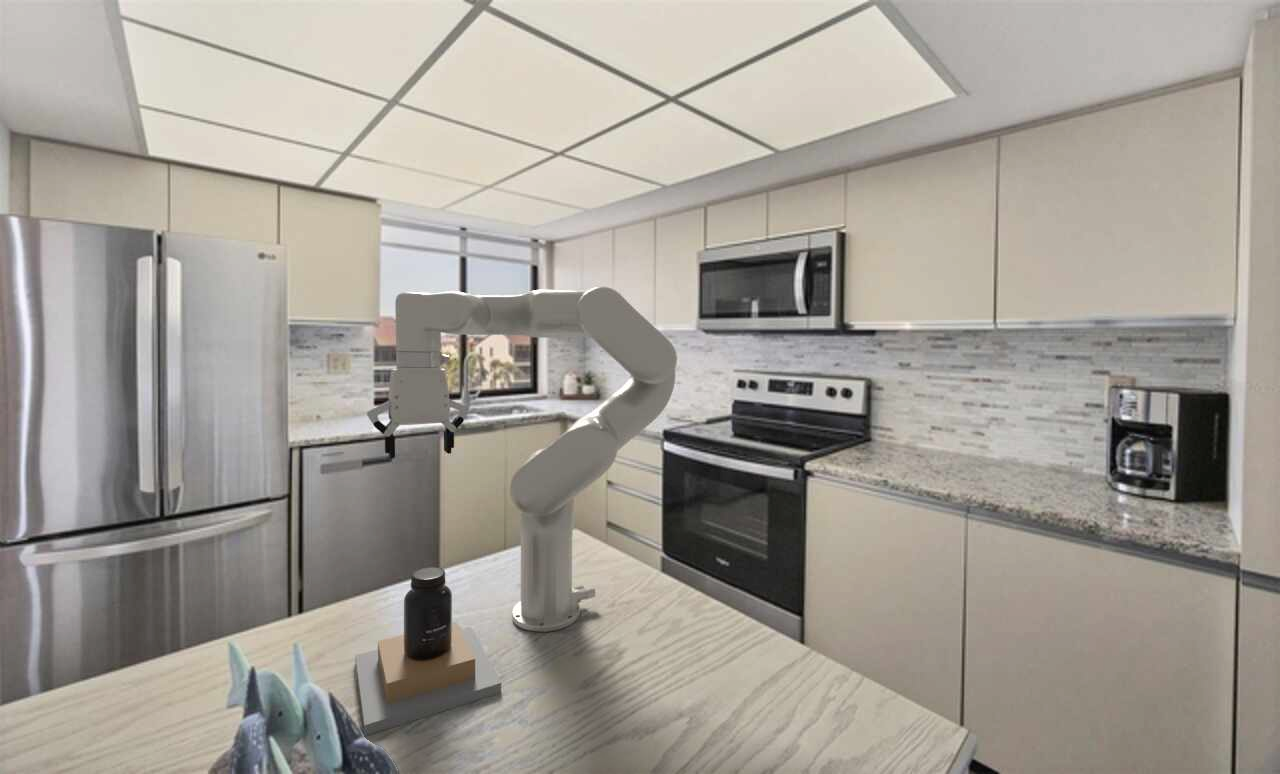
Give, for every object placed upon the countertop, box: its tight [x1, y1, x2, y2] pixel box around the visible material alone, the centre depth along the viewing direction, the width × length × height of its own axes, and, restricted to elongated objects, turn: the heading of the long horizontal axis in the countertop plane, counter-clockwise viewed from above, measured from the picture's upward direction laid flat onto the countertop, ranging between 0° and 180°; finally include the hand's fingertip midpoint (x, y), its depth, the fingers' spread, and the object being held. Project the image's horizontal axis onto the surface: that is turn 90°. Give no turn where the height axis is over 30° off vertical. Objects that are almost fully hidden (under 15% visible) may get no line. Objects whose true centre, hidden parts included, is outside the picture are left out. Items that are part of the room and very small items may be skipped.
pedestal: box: [354, 621, 502, 737], centre depth 83 cm, size 18×18×4 cm
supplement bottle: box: [403, 566, 453, 660], centre depth 83 cm, size 7×7×12 cm
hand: (420, 454), depth 100 cm, fingers open, 9 cm apart
